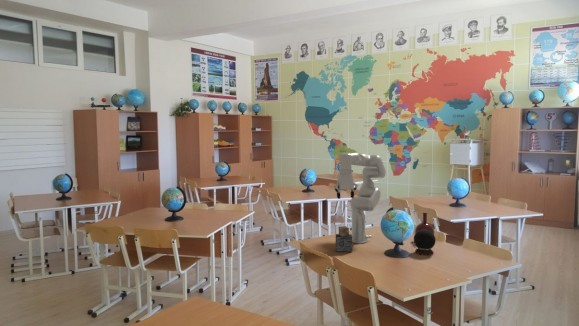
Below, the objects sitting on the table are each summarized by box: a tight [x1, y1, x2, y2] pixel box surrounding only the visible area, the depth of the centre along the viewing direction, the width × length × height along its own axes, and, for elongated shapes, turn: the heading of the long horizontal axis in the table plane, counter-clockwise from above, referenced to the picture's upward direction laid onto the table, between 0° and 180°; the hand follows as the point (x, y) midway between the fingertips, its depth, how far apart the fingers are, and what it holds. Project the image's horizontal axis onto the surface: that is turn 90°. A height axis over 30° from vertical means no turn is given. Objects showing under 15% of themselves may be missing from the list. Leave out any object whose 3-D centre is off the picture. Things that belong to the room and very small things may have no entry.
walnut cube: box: [338, 226, 350, 236], centre depth 268 cm, size 5×5×5 cm
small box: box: [335, 233, 353, 253], centre depth 268 cm, size 11×6×10 cm, turn 84°
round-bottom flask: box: [414, 212, 436, 235], centre depth 289 cm, size 13×13×20 cm
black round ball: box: [413, 229, 437, 256], centre depth 262 cm, size 13×13×15 cm
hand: (345, 198), depth 273 cm, fingers open, 9 cm apart
